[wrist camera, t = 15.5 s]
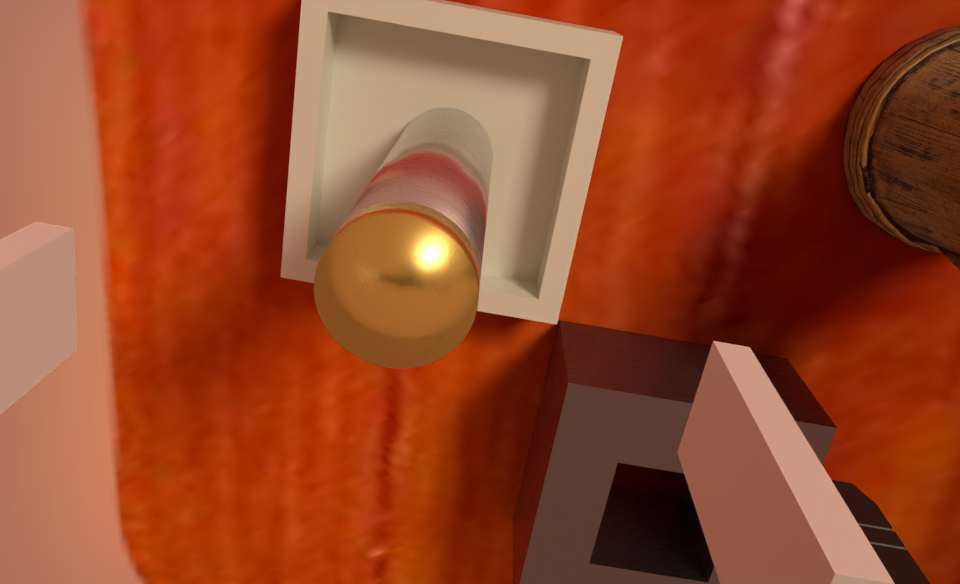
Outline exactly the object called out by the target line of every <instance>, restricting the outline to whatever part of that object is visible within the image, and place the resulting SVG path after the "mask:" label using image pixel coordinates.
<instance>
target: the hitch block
mask: <svg viewBox="0 0 960 584" xmlns="http://www.w3.org/2000/svg"><path fill="white" fill-rule="evenodd" d="M710 349H711V346H707V345H701V344H695V343H689V342H683V341H677V340H672V339H666V338H660V337H654V336H648V335H642V334H636V333H631V332H625V331H619V330H613V329H607V328H601V327H595V326H590V325H584V324H578V323H572V322H566V321H559V325H558V329H557V334H556V338H555V342H554V347H553V351H552V355H551V360H550V364H549V368H548V373H547V377H546V381H545V386H544V390H543V394H542V399H541V403H540V407H539V412H538V416H537V420H536V425H535V429H534V433H533V438H532V442H531V446H530V451H529V455H528V459H527V464H526V468H525V472H524V477H523V481H522V485H521V490H520V494H519V498H518V502H517V507H516V511H515V515H514V520H513V584H720V582H719V579H718V576H717V573H716V570H715V567H714V564H713V560H712V557H711V554H710V551H709V548H708V545H707V542H706V539H705V536H704V533H703V530H702V527H701V524H700V521H699V518H698V515H697V511H696V508H695V505H694V502H693V499H692V496H691V493H690V490H689V487H688V484H687V481H686V484H685V487H684V490H683V493H682V496H681V498H678V497H671V496H665V495H659V494H653V493H647V492H641V491H635V490H629V489H623V488H617V487H611V485H612V482H613V478H614V475H615V471H616V468H617V464H618V463H623V464H629V465H635V466H641V467H647V468H654V469H660V470H666V471H672V472H678V473H684V472H683V469H682V466H681V462H680V459H679V456H678V453H677V452H678V449H679V446H680V443H681V439H682V436H683V433H684V430H685V427H686V424H687V421H688V418H689V414H690V411H691V408H692V405H693V402H694V399H695V396H696V393H697V389H698V386H699V383H700V380H701V377H702V374H703V371H704V368H705V364H706V361H707V358H708V355H709V352H710ZM754 355H755V356H756V358H757V360H758V361H759V363H760V365H761V366H762V368H763V369H764V371H765V373H766V374H767V376H768V378H769V379H770V381H771V383H772V384H773V386H774V387H775V389H776V391H777V392H778V394H779V396H780V397H781V399H782V401H783V402H784V404H785V405H786V407H787V409H788V410H789V412H790V414H791V415H792V417H793V418H794V420H795V422H796V423H797V425H798V427H799V428H800V430H801V432H802V433H803V435H804V436H805V438H806V440H807V441H808V443H809V445H810V446H811V448H812V449H813V451H814V453H815V454H816V456H817V458H818V459H819V461H820V463H821V464H822V463H823V461H824V458H825V456H826V453H827V451H828V448H829V446H830V443H831V441H832V439H833V436H834V434H835V431H836V429H837V427H836V426H835V425H834V423H833V422H832V421H831V419H830V418H829V416H828V415H827V414H826V412H825V411H824V409H823V408H822V407H821V405H820V404H819V402H818V401H817V400H816V398H815V397H814V396H813V394H812V393H811V391H810V390H809V389H808V387H807V386H806V384H805V383H804V382H803V380H802V379H801V378H800V376H799V375H798V373H797V372H796V371H795V369H794V368H793V366H792V365H791V364H790V362H789V361H788V359H783V358H777V357H771V356H765V355H759V354H754Z"/></svg>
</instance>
